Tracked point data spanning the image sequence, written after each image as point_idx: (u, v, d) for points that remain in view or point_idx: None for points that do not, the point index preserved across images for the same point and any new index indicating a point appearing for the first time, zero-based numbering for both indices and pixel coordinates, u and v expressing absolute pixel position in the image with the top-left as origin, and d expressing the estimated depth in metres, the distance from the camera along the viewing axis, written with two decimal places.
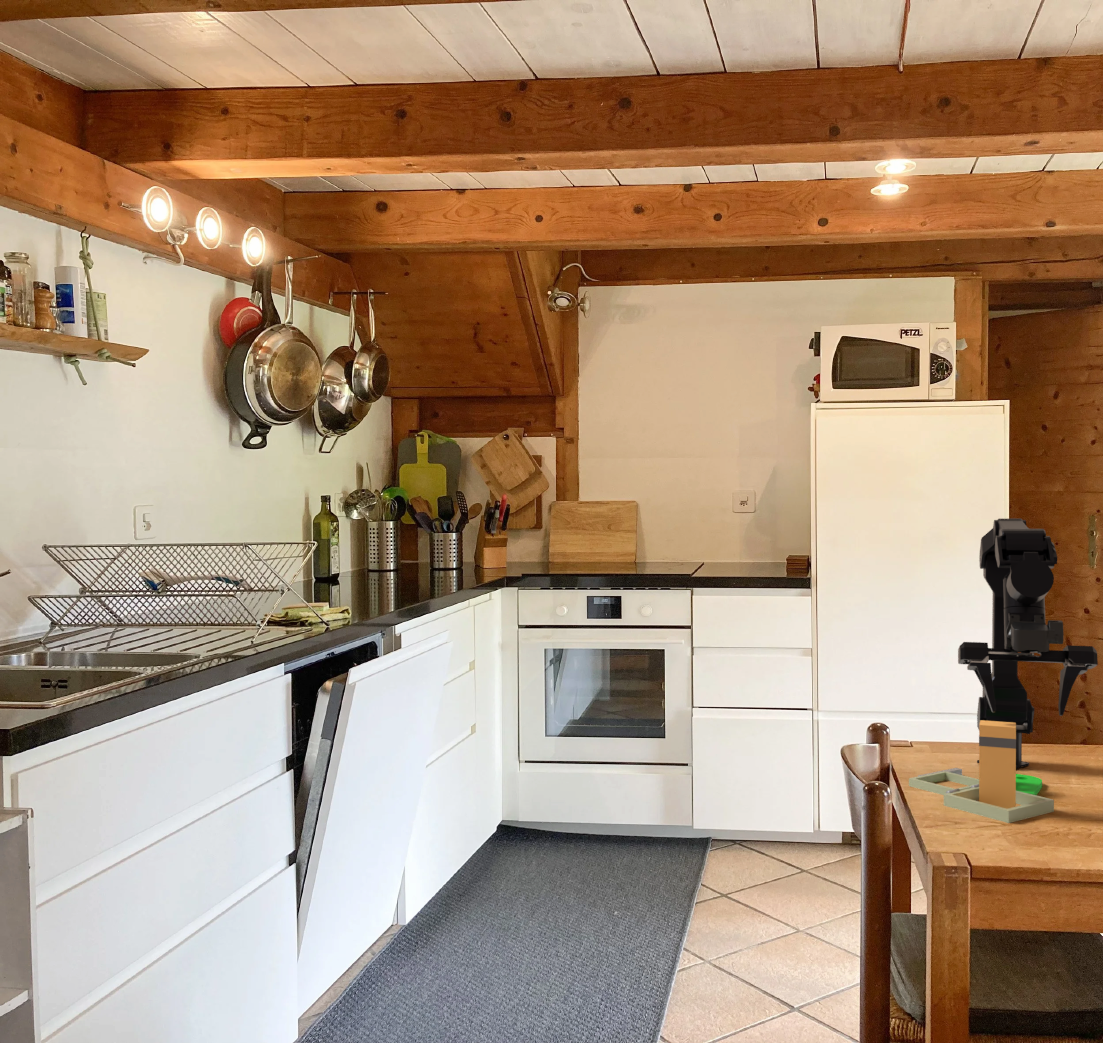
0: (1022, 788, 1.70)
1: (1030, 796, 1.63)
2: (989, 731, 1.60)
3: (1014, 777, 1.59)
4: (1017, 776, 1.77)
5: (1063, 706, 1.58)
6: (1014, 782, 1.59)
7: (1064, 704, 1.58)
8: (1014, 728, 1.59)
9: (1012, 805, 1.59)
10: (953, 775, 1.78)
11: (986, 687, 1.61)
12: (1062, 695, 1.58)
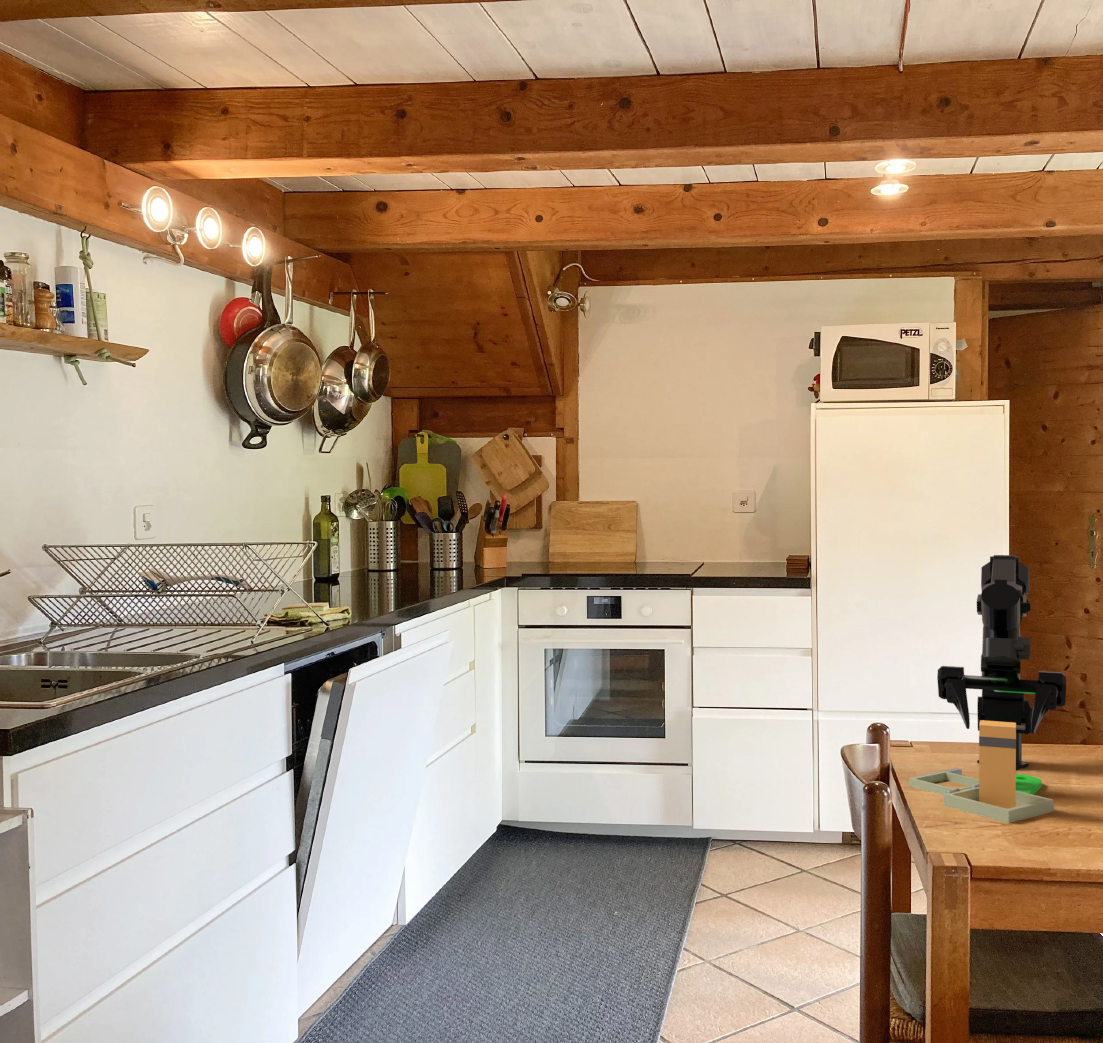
0: (1018, 788, 1.70)
1: (1030, 796, 1.63)
2: (989, 731, 1.60)
3: (1014, 777, 1.59)
4: (1017, 776, 1.77)
5: (1034, 722, 1.64)
6: (1014, 782, 1.59)
7: (1035, 720, 1.65)
8: (1014, 728, 1.59)
9: (1012, 805, 1.59)
10: (953, 775, 1.78)
11: (961, 704, 1.70)
12: (1033, 712, 1.65)
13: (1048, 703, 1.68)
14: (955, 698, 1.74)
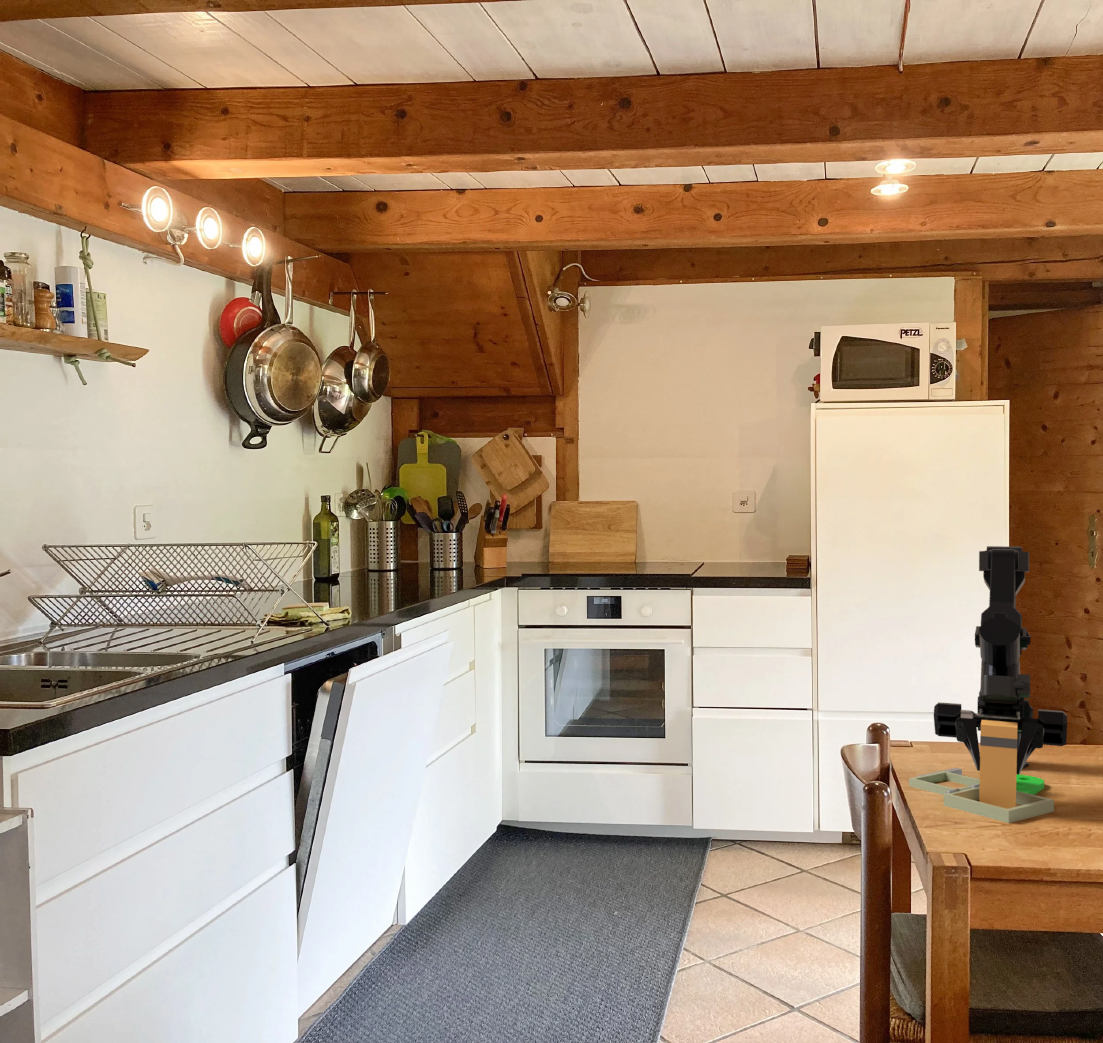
0: (1018, 788, 1.70)
1: (1030, 796, 1.63)
2: (991, 731, 1.60)
3: (1015, 777, 1.59)
4: (1020, 777, 1.77)
5: (1019, 762, 1.59)
6: (1015, 782, 1.59)
7: (1020, 761, 1.59)
8: (1016, 728, 1.58)
9: (1012, 805, 1.59)
10: (953, 775, 1.78)
11: (971, 744, 1.63)
12: (1019, 752, 1.60)
13: (1034, 741, 1.63)
14: (965, 737, 1.67)
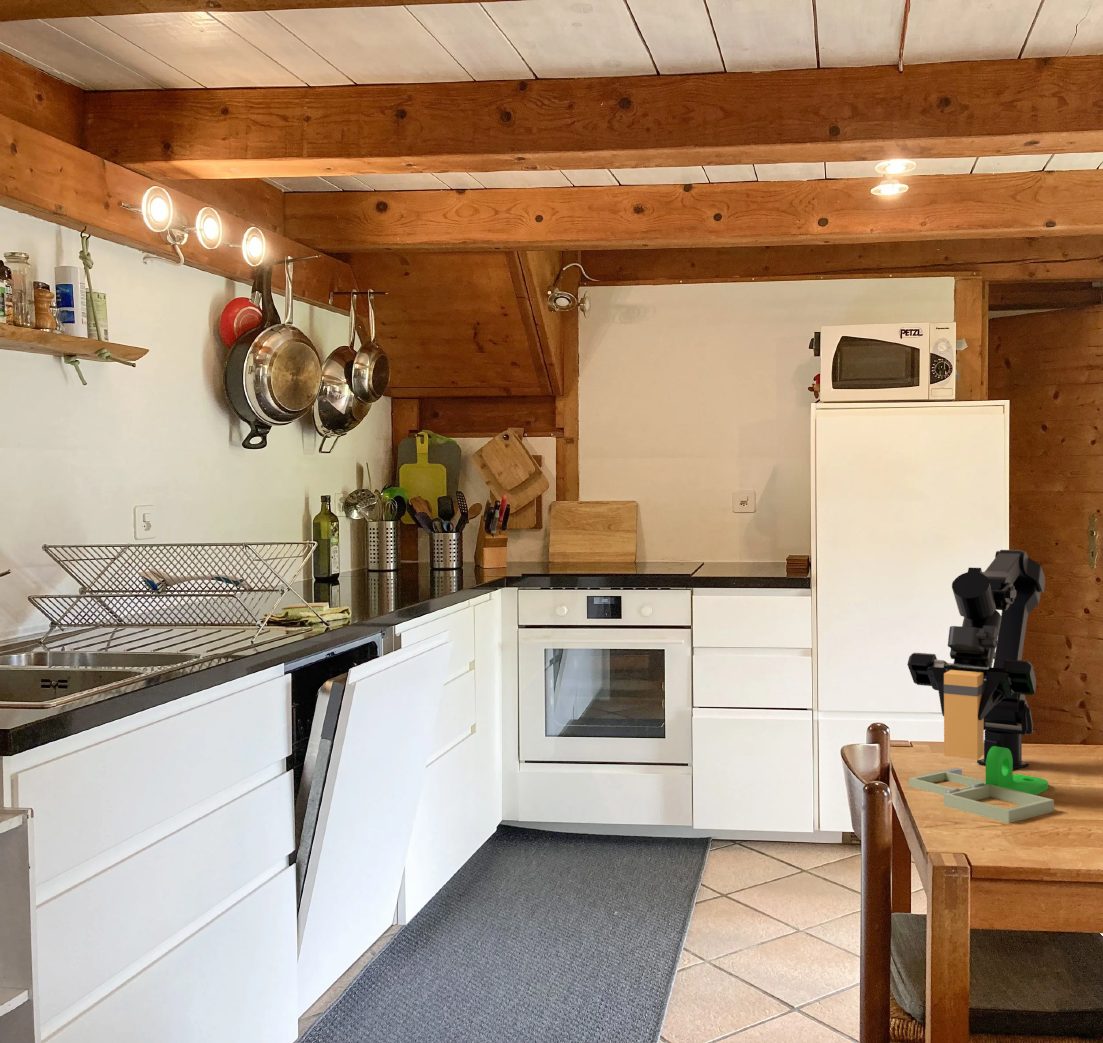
0: (1017, 788, 1.69)
1: (1030, 796, 1.63)
2: (953, 679, 1.69)
3: (976, 723, 1.67)
4: (1025, 777, 1.76)
5: (981, 709, 1.67)
6: (976, 728, 1.67)
7: (982, 707, 1.67)
8: (976, 677, 1.67)
9: (974, 750, 1.67)
10: (953, 775, 1.78)
11: (939, 691, 1.72)
12: (982, 699, 1.68)
13: (1002, 690, 1.70)
14: None
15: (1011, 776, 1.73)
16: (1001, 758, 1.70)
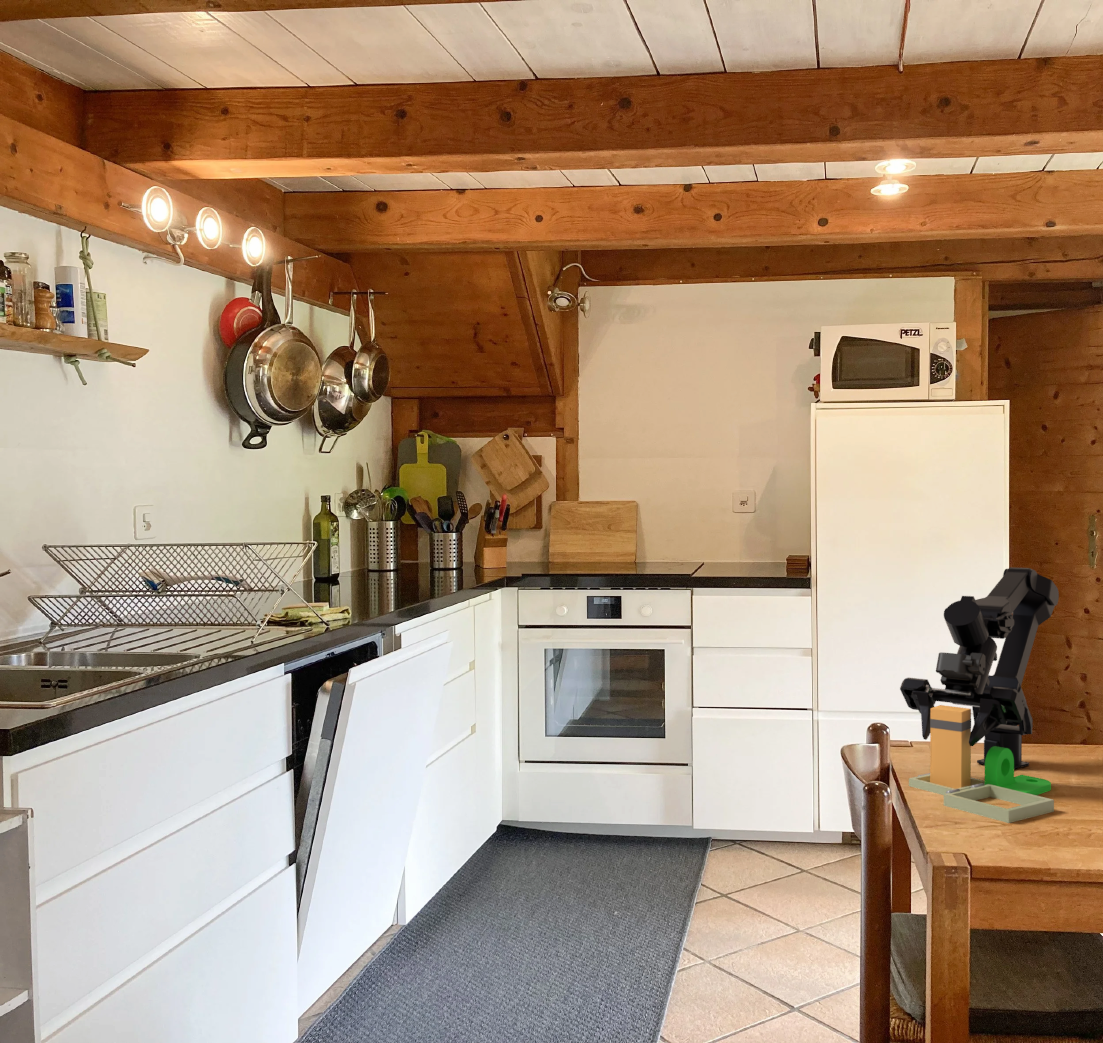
0: (1016, 789, 1.69)
1: (1030, 796, 1.63)
2: (939, 714, 1.73)
3: (960, 758, 1.71)
4: (1029, 778, 1.76)
5: (972, 735, 1.70)
6: (960, 763, 1.71)
7: (974, 733, 1.70)
8: (960, 712, 1.71)
9: (958, 784, 1.71)
10: None
11: (922, 715, 1.77)
12: (974, 726, 1.71)
13: (997, 717, 1.73)
14: None
15: (1012, 776, 1.73)
16: (1000, 758, 1.70)
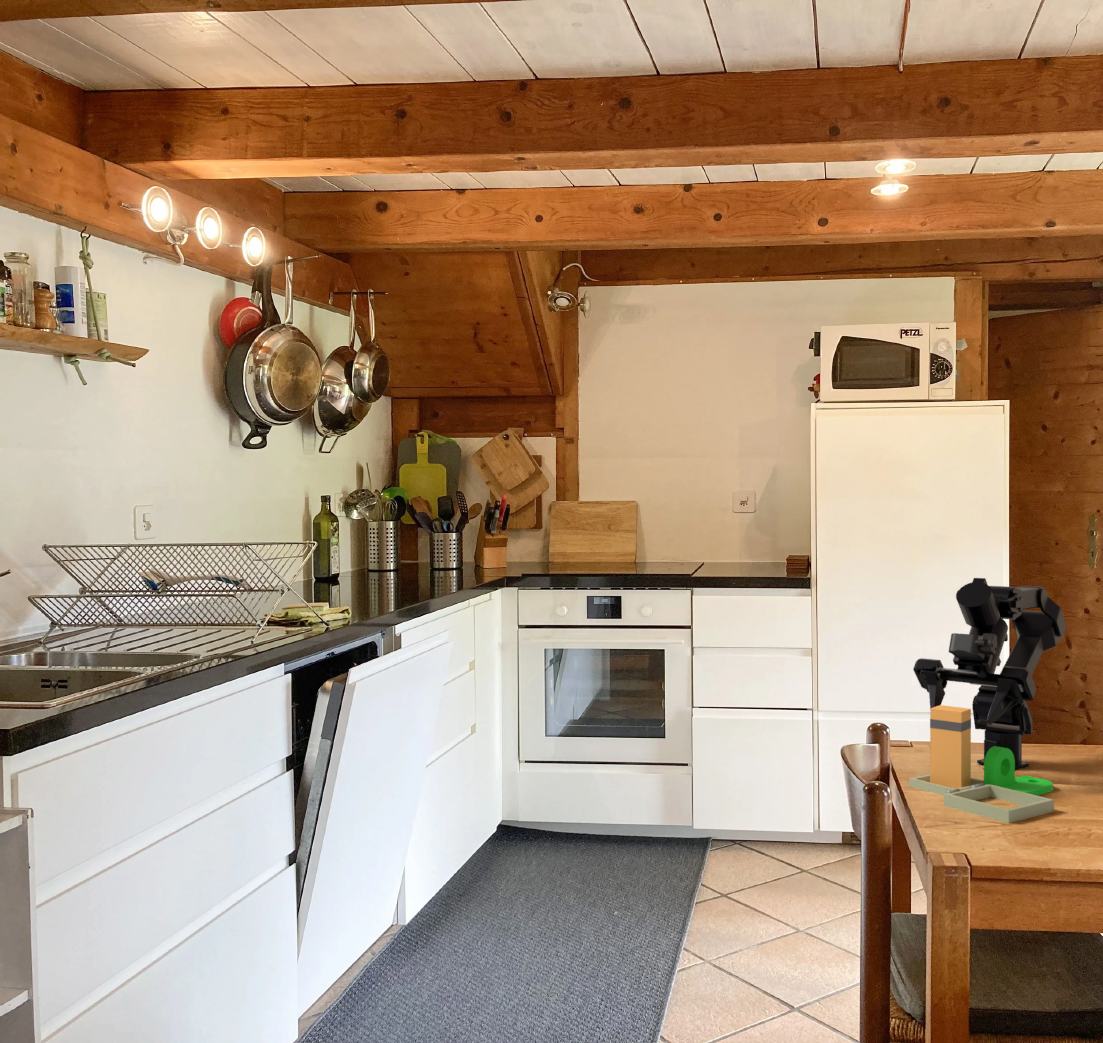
0: (1016, 789, 1.69)
1: (1030, 796, 1.63)
2: (939, 714, 1.73)
3: (960, 758, 1.71)
4: (1031, 779, 1.75)
5: (991, 714, 1.74)
6: (960, 763, 1.71)
7: (992, 712, 1.74)
8: (960, 713, 1.71)
9: (958, 784, 1.71)
10: None
11: (930, 694, 1.82)
12: (992, 705, 1.75)
13: (1014, 696, 1.76)
14: None
15: (1013, 777, 1.72)
16: (1000, 758, 1.70)
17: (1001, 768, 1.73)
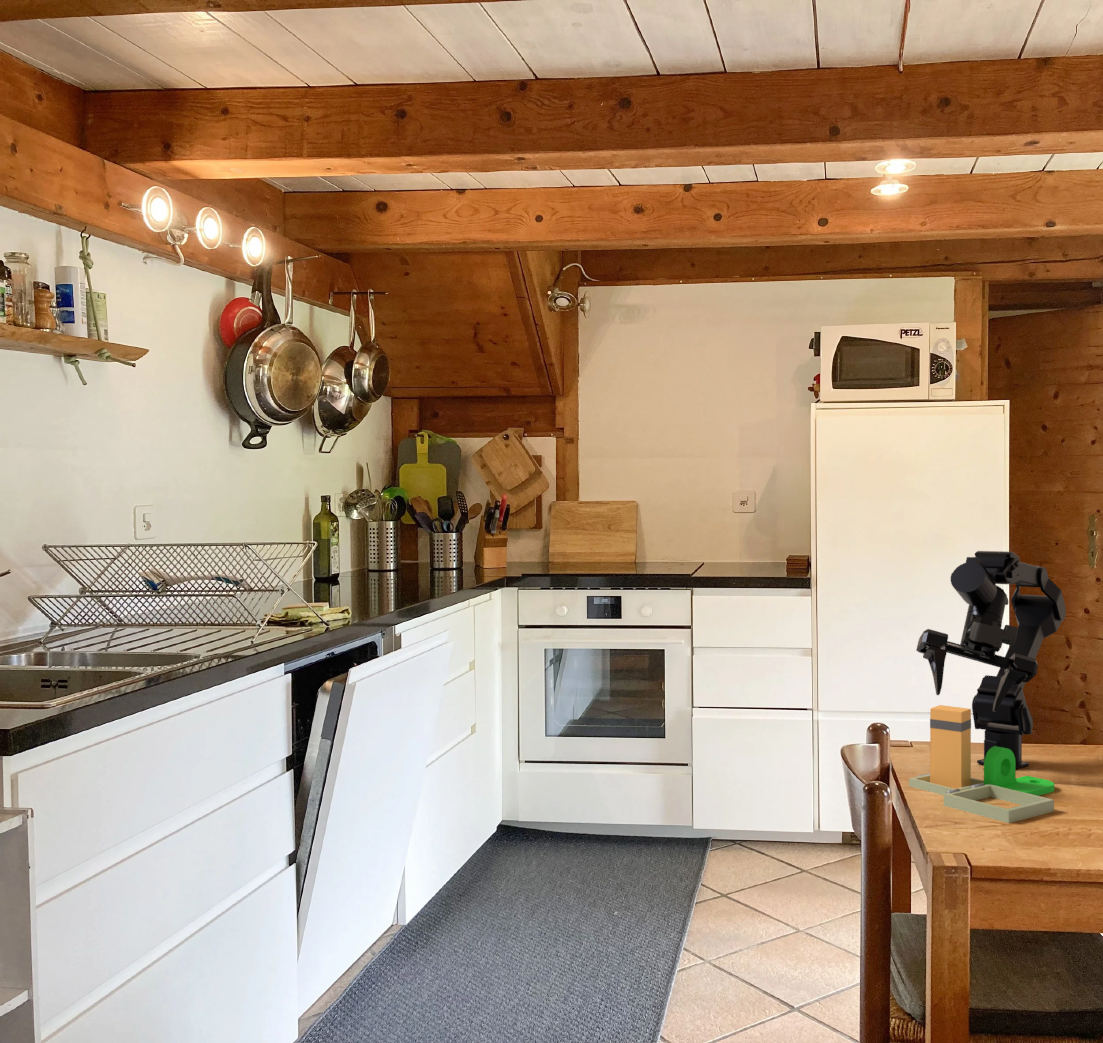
0: (1015, 789, 1.69)
1: (1030, 796, 1.63)
2: (939, 714, 1.73)
3: (960, 758, 1.71)
4: (1033, 779, 1.75)
5: (998, 703, 1.79)
6: (960, 763, 1.71)
7: (999, 701, 1.79)
8: (960, 713, 1.71)
9: (958, 784, 1.71)
10: None
11: (937, 671, 1.82)
12: (1000, 693, 1.79)
13: None
14: (931, 658, 1.86)
15: (1013, 777, 1.72)
16: (1000, 758, 1.70)
17: (1002, 768, 1.73)
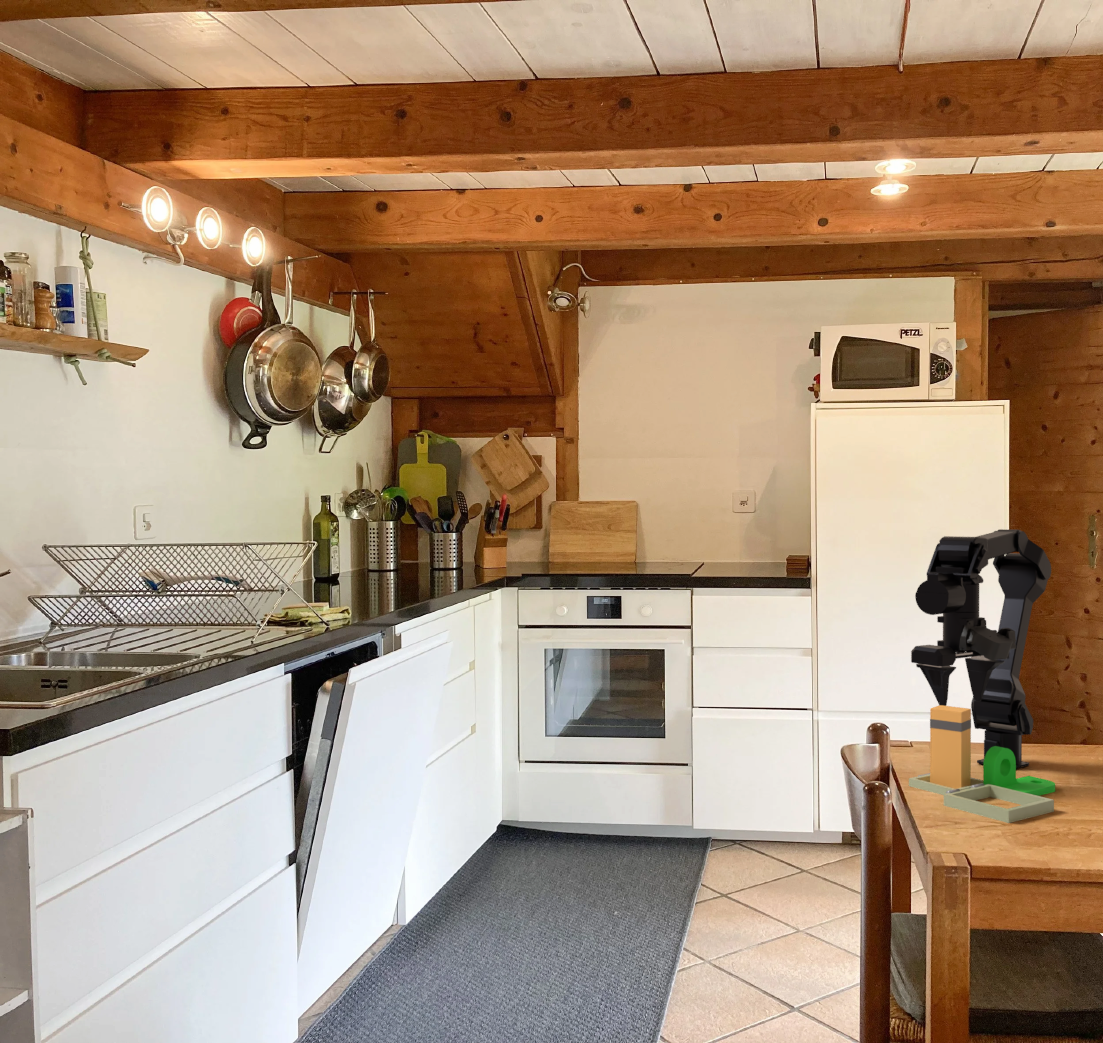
0: (1015, 789, 1.69)
1: (1030, 796, 1.63)
2: (939, 714, 1.73)
3: (960, 758, 1.71)
4: (1034, 780, 1.75)
5: (982, 694, 1.83)
6: (960, 763, 1.71)
7: (983, 692, 1.83)
8: (960, 713, 1.71)
9: (958, 784, 1.71)
10: None
11: (945, 686, 1.77)
12: (983, 685, 1.83)
13: None
14: None
15: (1014, 777, 1.72)
16: (999, 758, 1.70)
17: (1002, 768, 1.73)
